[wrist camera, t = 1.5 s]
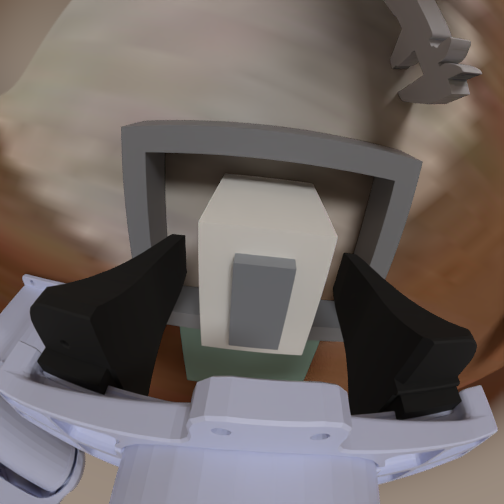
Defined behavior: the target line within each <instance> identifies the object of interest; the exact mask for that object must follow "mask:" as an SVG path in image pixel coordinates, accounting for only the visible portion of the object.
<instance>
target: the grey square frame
mask: <svg viewBox="0 0 504 504" xmlns="http://www.w3.org/2000/svg"><path fill="white" fill-rule="evenodd" d="M121 140H122V167H123V183H124V195H125V206H126V216H127V224H128V233H129V240H130V247H131V254H132V258H134V257H136V256H137V255H139V254H141V253H143V252H144V251H146V250H147V249H149V248H151V247H152V246H154V245H155V244H157V243H158V242H160V241H162V240H163V239H165V238H166V237H167V226H166V205H165V153H195V154H213V155H228V156H240V157H251V158H261V159H270V160H279V161H287V162H294V163H301V164H308V165H315V166H321V167H328V168H334V169H339V170H345V171H350V172H356V173H361V174H366V175H371V176H374V180H373V184H372V188H371V192H370V197H369V201H368V205H367V208H366V212H365V216H364V220H363V223H362V227H361V231H360V234H359V238H358V241H357V244H356V248H355V251H354V254H356V255H358V256H359V257H360V258H361V259H363V260H364V261H365V262H366V263H367V264H368V265H369V266H370V267H372V268H373V269H374V270H375V271H376V272H377V273H378V274H379V275H380V276H381V277H382V278H384V279H385V278H386V276H387V273H388V271H389V268H390V266H391V263H392V260H393V258H394V255H395V252H396V249H397V247H398V244H399V241H400V238H401V235H402V232H403V229H404V226H405V223H406V220H407V217H408V214H409V210H410V207H411V204H412V200H413V197H414V193H415V190H416V186H417V182H418V178H419V174H420V170H421V166H422V161H420V160H418V159H416V158H414V157H412V156H411V155H409V154H407V153H405V152H402V151H400V150H397V149H393V148H389V147H386V146H382V145H378V144H374V143H369V142H365V141H361V140H356V139H351V138H347V137H342V136H336V135H331V134H326V133H320V132H314V131H308V130H301V129H294V128H287V127H279V126H270V125H261V124H250V123H238V122H222V121H197V120H156V121H142V122H138V123H134V124H130V125H126V126H122V127H121ZM167 324H169V325H175V326H181V327H187V328H194V329H201V326H200V302H199V287H191V286H184V285H183V287H182V290H181V293H180V295H179V297H178V300H177V302H176V304H175V306H174V309H173V311H172V313H171V315H170V318H169V320H168V322H167ZM307 340H316V341H341V342H344V341H343V337H342V333H341V329H340V325H339V321H338V317H337V313H336V309H335V303H334V301H328V300H320V302H319V305H318V308H317V311H316V314H315V318H314V321H313V324H312V327H311V330H310V333H309V336H308V339H307Z"/></svg>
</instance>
